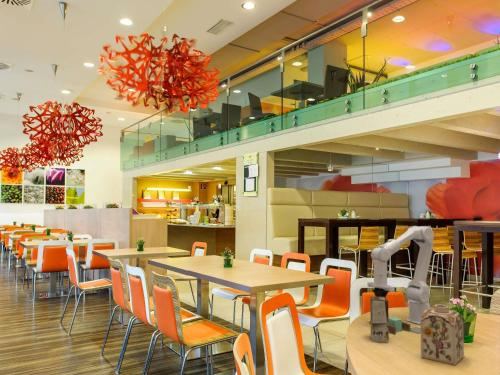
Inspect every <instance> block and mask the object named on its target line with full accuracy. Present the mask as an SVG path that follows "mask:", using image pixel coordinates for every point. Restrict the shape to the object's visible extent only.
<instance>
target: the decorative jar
mask: <svg viewBox="0 0 500 375" xmlns="http://www.w3.org/2000/svg"><path fill="white" fill-rule="evenodd" d="M430 308H431V309H427V310H425V311H424V313H423V315H422V317H421V324H420V328H421V333H420V357H421V359H426V360H431V361H435V362H439V363H444V364H449V365H453V366H456V365H457V364H458V363H459V362H460V361H461V360H462V359H463V357H465V354H464V352H465V351H464V350H465V348H464V345H465V344H464V343H465V342H464V321H463V320H464V318H462V315H461V314H460V313H459V312H458V311H456V310H453V309H450V308H449V306H448V305H446V304H445V305H444V304H434V307H430Z"/></svg>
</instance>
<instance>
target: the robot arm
mask: <svg viewBox="0 0 500 375" xmlns="http://www.w3.org/2000/svg"><path fill="white" fill-rule="evenodd" d="M434 238H435V232H434V230H433V229H432V228H431V227H430V226H418V225H413V226H412V225H411V227H409V228H407V230H406V231H405V232H404V233H402V234H401V235H400V236H399V237H397V238H396V239H394V238H391V239H387V241H386V242H385V243H384V244H380V246H379V247H375V248H373V249H372V251H371V253H370V258H371V259H372V263H373V282H372V281H370V282H369V281H368V282H367V283H366V284H367V285H366V286H367V287H368V288H374V289H372V293H373V294H374V297H386V298H387V295H388V294H389V292H390V293H395V287H396V286H395V287H394V286H392V285H389V284H388V261H389V260H390V258H391V256H392V255H394V254H395V253H397V252H398V251H400V250H401V246H403V245H404V244H406V243H408V242H411V241H414V242H415V243H416V244H417V245H418V246H419V251H418V255H417V260H416V264H415V265H416V266H415V270H414V274H413V279H412V280H411V281H409V282H408V285H407V286H406V288H405V291H404V295H405V298H406V299H407V301H408V312H409V313H408V318H405V319H404V320H405V321H406V322H409V323H413V324H416V325H421V317H422V315H423V313H424V311H425V310H427V309H431V308H432V307H431V305H430V303H429V302H428V301H429V299H430V287H429V285H428V284H427V283H426V282H427V278H428V274H429V268H430V263H431V259H432V253H433V249H434Z"/></svg>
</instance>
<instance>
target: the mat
mask: <svg viewBox="0 0 500 375" xmlns="http://www.w3.org/2000/svg"><path fill="white" fill-rule="evenodd" d="M409 332H411V333H414V334H418V335H419V334H421V327H419V326H413V327H412V326H411V327H410V331H409Z"/></svg>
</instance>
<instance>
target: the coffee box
mask: <svg viewBox="0 0 500 375" xmlns="http://www.w3.org/2000/svg"><path fill="white" fill-rule="evenodd" d="M369 300H370V302H369V304H370V337H371V340H372V342H373V343H374V342H375V343H376V342H377V343H378V342H379V343H386V344H387V343H389V336H390V333H389V331H388V318H389V299H387V296H386V297H376V296H370V298H369Z"/></svg>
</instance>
